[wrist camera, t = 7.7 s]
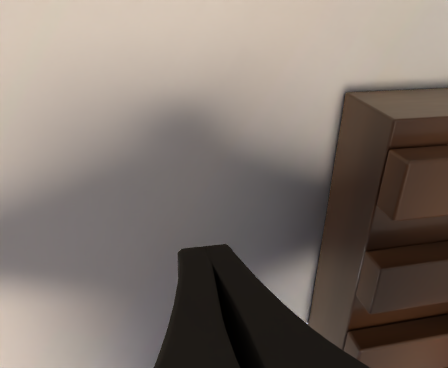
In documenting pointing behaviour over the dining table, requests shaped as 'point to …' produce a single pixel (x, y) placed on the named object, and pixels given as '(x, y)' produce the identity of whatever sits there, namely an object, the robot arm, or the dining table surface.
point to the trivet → (387, 232)
